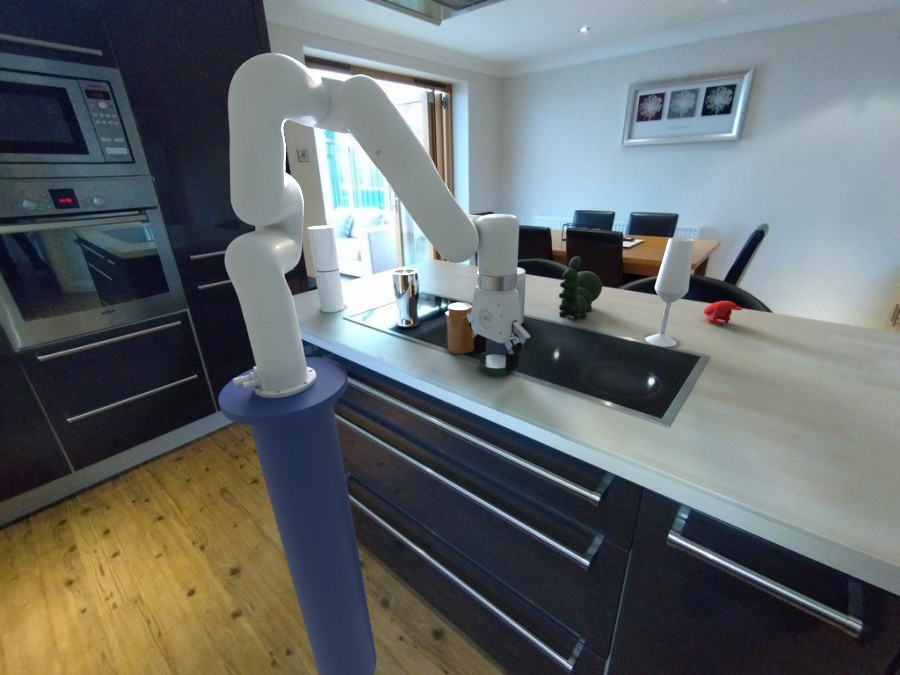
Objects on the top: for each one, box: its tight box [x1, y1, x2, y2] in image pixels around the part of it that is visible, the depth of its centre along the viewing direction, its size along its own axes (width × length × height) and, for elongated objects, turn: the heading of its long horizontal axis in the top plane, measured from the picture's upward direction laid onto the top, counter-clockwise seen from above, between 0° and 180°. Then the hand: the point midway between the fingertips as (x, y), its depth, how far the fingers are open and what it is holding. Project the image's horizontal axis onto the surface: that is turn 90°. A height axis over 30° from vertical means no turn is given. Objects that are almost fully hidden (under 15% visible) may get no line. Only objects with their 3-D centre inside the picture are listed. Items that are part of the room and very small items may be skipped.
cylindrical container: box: [307, 225, 345, 313], centre depth 118 cm, size 7×7×25 cm
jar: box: [445, 301, 474, 355], centre depth 90 cm, size 6×6×11 cm
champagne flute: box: [644, 237, 695, 348], centre depth 88 cm, size 7×7×24 cm
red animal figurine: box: [702, 300, 743, 326], centre depth 102 cm, size 8×6×6 cm
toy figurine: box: [558, 256, 603, 321], centre depth 109 cm, size 9×19×25 cm
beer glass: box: [392, 267, 421, 329], centre depth 105 cm, size 7×7×15 cm
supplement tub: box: [516, 266, 527, 326], centre depth 104 cm, size 10×10×15 cm
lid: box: [479, 353, 511, 377], centre depth 82 cm, size 7×7×2 cm
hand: (495, 360), depth 82 cm, fingers open, 9 cm apart
